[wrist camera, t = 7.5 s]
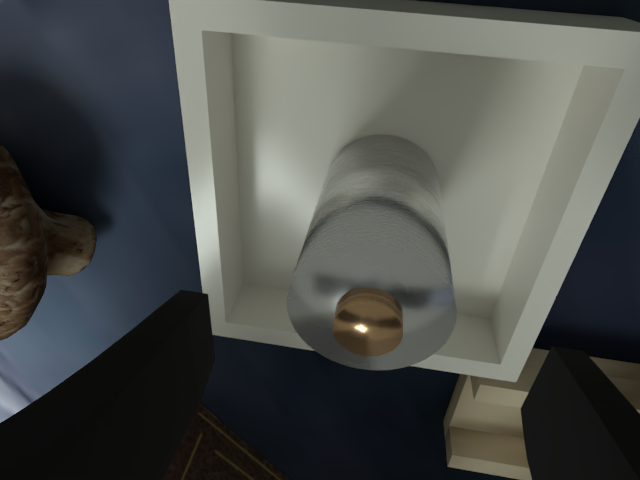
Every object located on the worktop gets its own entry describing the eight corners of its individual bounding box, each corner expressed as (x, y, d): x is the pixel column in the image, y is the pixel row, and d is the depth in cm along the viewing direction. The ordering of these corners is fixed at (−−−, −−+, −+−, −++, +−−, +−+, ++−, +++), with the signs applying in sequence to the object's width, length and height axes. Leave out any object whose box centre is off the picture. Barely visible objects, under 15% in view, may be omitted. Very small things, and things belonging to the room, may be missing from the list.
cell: (452, 142, 15) (481, 278, 9) (426, 243, 17) (436, 401, 11) (330, 127, 15) (283, 247, 9) (321, 227, 17) (278, 373, 11)
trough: (763, 382, 19) (808, 436, 17) (689, 461, 22) (718, 514, 20) (471, 338, 20) (479, 384, 18) (443, 420, 23) (447, 466, 21)
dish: (623, 17, 13) (677, 35, 10) (501, 326, 19) (516, 382, 17) (210, -17, 14) (167, -8, 11) (231, 286, 20) (207, 333, 18)
